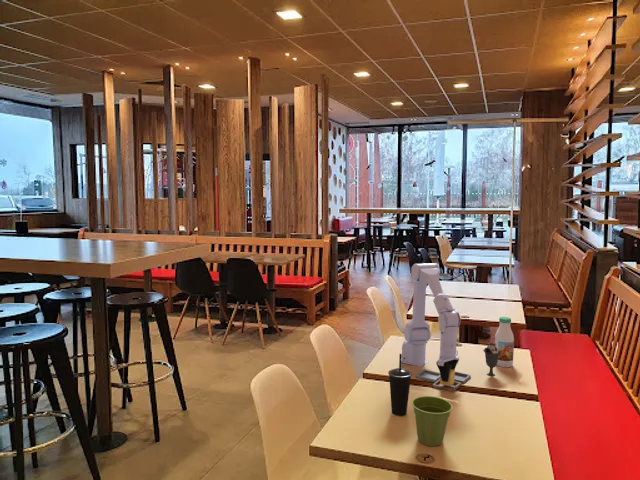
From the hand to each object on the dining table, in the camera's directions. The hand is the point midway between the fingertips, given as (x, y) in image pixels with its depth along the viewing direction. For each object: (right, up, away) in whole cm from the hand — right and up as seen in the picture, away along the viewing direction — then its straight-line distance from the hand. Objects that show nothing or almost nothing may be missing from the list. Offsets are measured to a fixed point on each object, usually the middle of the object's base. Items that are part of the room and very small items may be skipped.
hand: (447, 379), depth 189 cm
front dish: (0, -3, 0) cm, 3 cm away
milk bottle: (+30, -1, +25) cm, 39 cm away
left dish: (-4, -2, +10) cm, 11 cm away
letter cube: (0, -2, 0) cm, 2 cm away
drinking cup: (-21, -6, -21) cm, 30 cm away
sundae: (+20, -2, +12) cm, 24 cm away
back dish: (+6, -2, +8) cm, 10 cm away
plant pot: (-14, -8, -39) cm, 42 cm away
